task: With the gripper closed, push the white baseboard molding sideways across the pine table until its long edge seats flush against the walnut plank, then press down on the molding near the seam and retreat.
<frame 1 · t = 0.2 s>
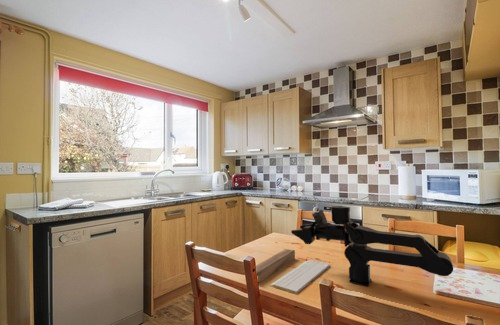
hand: (296, 229, 110), 16 cm above the table, tool horizontal, fingers open, 9 cm apart
baseboard molding: (301, 276, 102), on the table
walnut plank: (273, 268, 110), on the table
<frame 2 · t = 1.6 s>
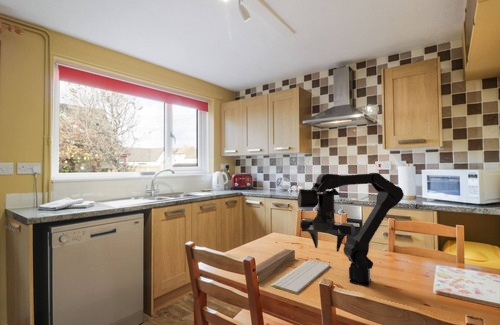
hand: (326, 249, 95), 12 cm above the table, tool pointing down, fingers open, 8 cm apart
nothing on the table moved.
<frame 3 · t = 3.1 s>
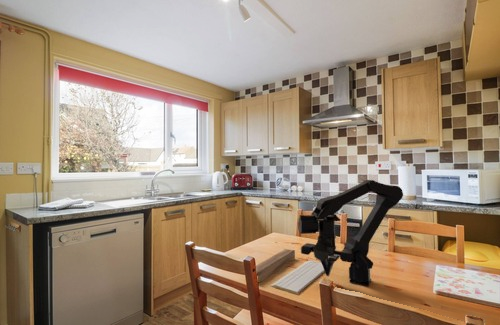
hand: (327, 275, 95), 3 cm above the table, tool pointing down, fingers closed
nothing on the table moved.
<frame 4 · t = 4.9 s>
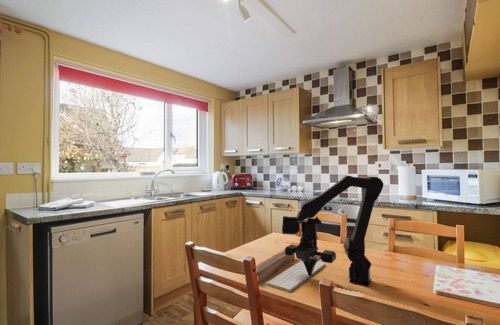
hand: (310, 275, 99), 1 cm above the table, tool pointing down, fingers closed
baseboard molding: (296, 275, 104), on the table, touching gripper
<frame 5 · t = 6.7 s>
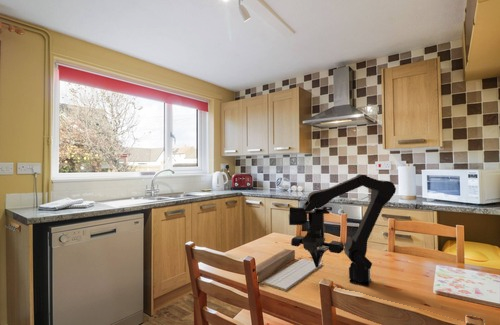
hand: (317, 266, 97), 5 cm above the table, tool pointing down, fingers closed
baseboard molding: (292, 274, 104), on the table
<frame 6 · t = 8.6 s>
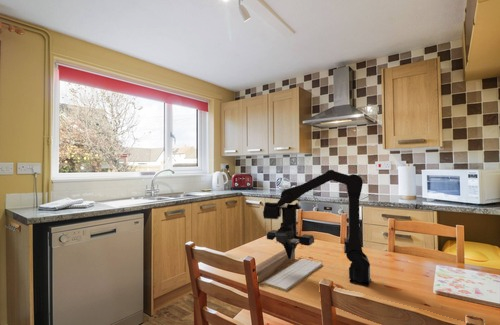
hand: (290, 258, 104), 6 cm above the table, tool pointing down, fingers closed
nothing on the table moved.
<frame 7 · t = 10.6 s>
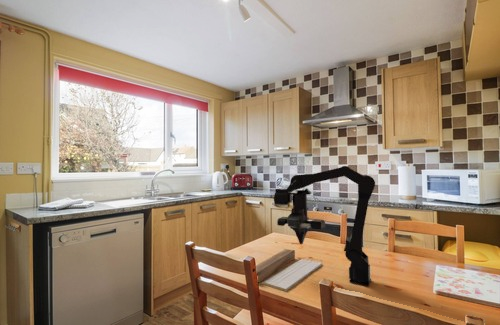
hand: (301, 244, 105), 12 cm above the table, tool pointing down, fingers closed
nothing on the table moved.
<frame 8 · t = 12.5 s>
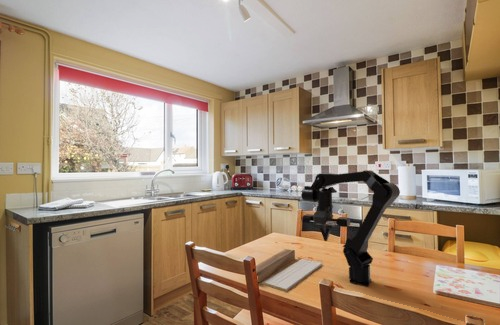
hand: (325, 240, 107), 12 cm above the table, tool pointing down, fingers closed
nothing on the table moved.
at the end: baseboard molding inside the target area (0.9 cm from its centre), on the table; baseboard molding tilted 1° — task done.
